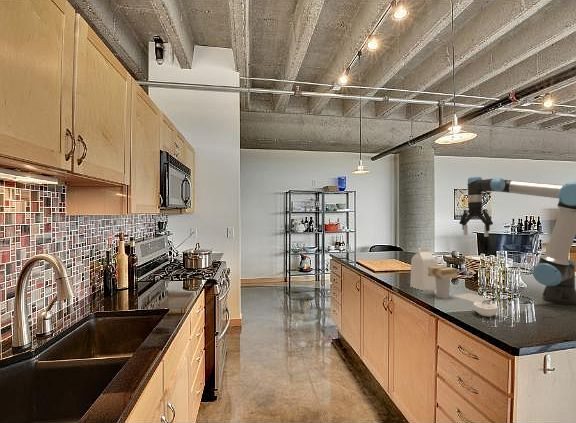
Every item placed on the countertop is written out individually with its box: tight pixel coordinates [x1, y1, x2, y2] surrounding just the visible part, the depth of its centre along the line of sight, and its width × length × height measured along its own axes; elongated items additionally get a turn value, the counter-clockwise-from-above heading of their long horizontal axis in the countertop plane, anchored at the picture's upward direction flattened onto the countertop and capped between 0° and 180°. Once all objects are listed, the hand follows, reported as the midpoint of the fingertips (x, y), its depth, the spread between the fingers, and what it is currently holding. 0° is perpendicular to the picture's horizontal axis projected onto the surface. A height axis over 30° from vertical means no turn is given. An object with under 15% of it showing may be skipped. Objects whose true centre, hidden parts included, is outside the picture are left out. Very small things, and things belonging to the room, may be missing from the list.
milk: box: [409, 246, 438, 292], centre depth 198 cm, size 12×12×26 cm
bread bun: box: [428, 265, 458, 280], centre depth 175 cm, size 10×10×5 cm
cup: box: [435, 277, 452, 300], centre depth 175 cm, size 8×8×12 cm
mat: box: [452, 292, 493, 303], centre depth 174 cm, size 14×14×1 cm
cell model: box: [473, 300, 500, 318], centre depth 145 cm, size 10×12×7 cm
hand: (475, 235), depth 192 cm, fingers open, 13 cm apart
